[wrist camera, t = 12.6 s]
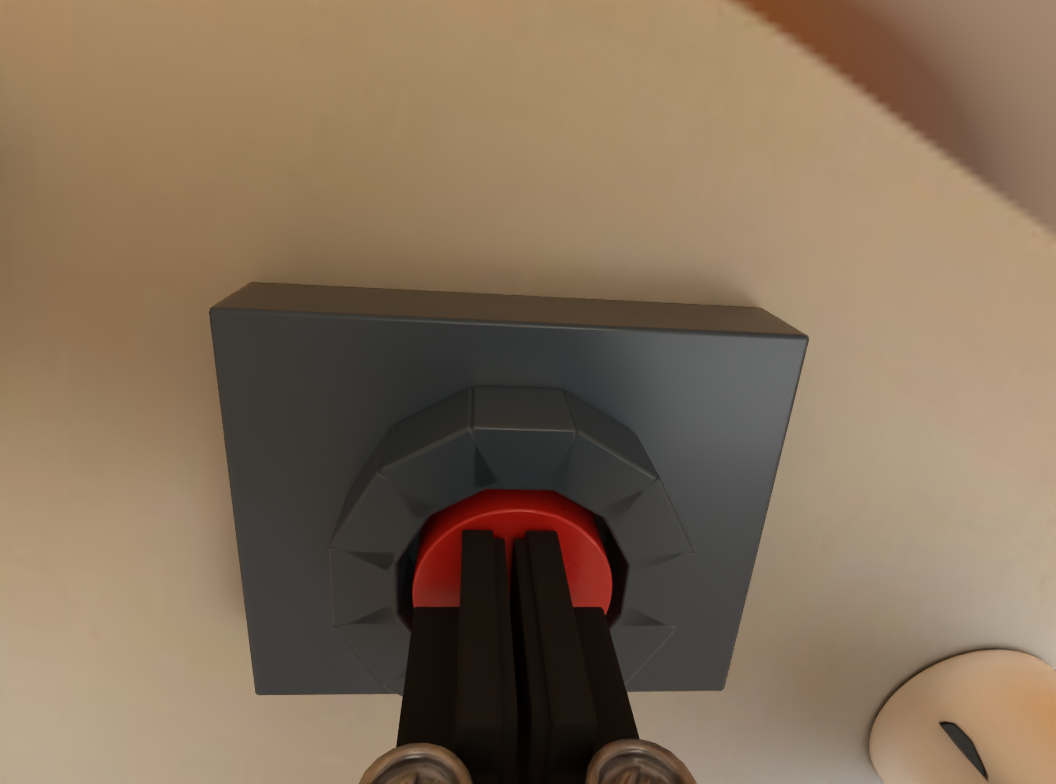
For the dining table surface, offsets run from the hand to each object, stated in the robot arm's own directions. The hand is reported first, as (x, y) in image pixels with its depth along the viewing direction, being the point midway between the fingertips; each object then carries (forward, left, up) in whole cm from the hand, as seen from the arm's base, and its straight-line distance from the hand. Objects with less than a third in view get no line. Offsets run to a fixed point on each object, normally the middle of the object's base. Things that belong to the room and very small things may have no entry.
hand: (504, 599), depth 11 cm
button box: (0, 0, -4) cm, 4 cm away
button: (0, 0, -2) cm, 2 cm away
